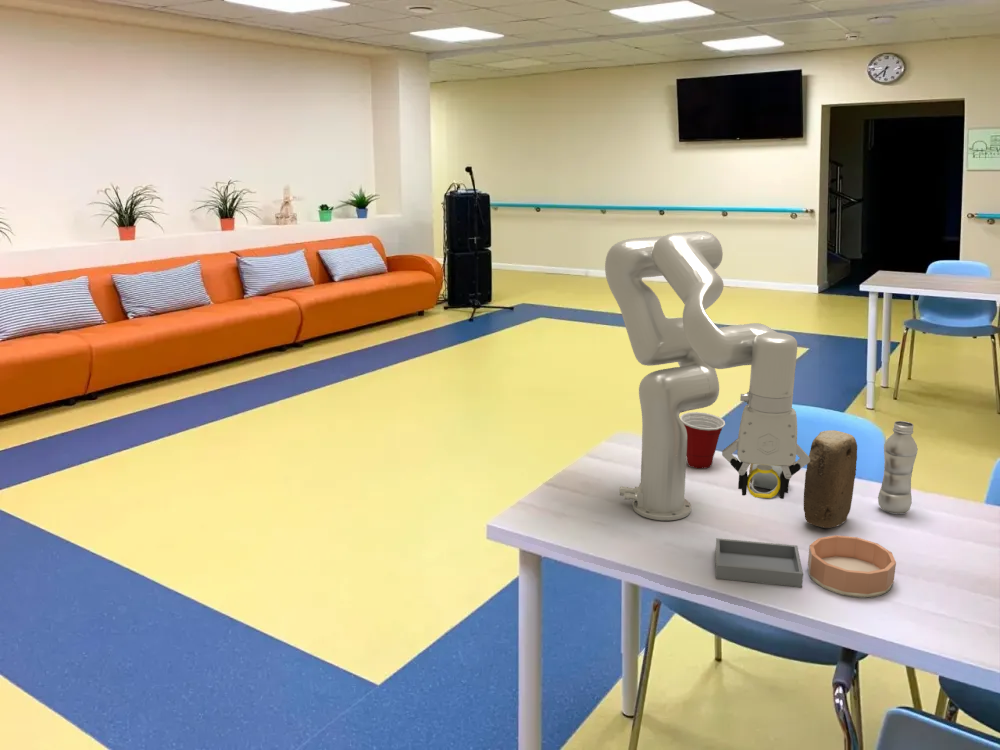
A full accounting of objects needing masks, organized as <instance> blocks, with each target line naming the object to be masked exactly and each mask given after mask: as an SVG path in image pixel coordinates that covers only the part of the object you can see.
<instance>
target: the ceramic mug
mask: <svg viewBox="0 0 1000 750" xmlns="http://www.w3.org/2000/svg"><path fill="white" fill-rule="evenodd" d="M757 466H758V464H750V465H749V472H748V473H749V474H750V472H751V471H752V470H754V469H756V468H757ZM769 466H771V465H769ZM771 467H772V469H773V470H774V471H776V472H777V474H778V476H779V478H780V474H781V472H782V468H781V466H771ZM749 474H748V475H749ZM790 481H791V478H790V479H789V482H790ZM749 484H750V485H751V490H752V491H753V492H754V493H760V494H770V493H771V492H773V491H774V490H775V488H776V487H777V485H778V479H777V477H776V475H774V474H772V473H760V472H758V473H756V474H754V475H753V477H752V478H751V479H750V483H749ZM755 487H756V488H761V489H766V490H770V491H767V492H761V491H758V490H757V489H755Z"/></svg>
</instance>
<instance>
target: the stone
mask: <svg viewBox="0 0 1000 750" xmlns="http://www.w3.org/2000/svg"><path fill="white" fill-rule="evenodd" d="M808 456H809V457H810V462H809V463H808V464H807V465H806V471H805V475H804V476H805V477H804V489H803V512H804V518H805V519H804V520H805V521H806V523H808V524H811V525H813V526H816V527H818V528H819V527H820V528H822V529H823V528H824V529H831V528H836V527H838V526H841V525H842V524H844V523H845V522H847V519H848V516H849V514H850V512H851V508H852V501H853V494H854V488H855V487H854V486H855V479H856V473H857V461H858V444H857V439H856V438H855V437H854V435H852V434H850V433H846V432H843V431H838V430H829V429H828V430H823V431H820V432H819V433H818V434H817V436H816V437H814V439H813V440H812V443H811V445H810V450H809V454H808Z"/></svg>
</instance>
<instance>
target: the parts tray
mask: <svg viewBox="0 0 1000 750" xmlns="http://www.w3.org/2000/svg"><path fill="white" fill-rule="evenodd" d="M803 571H804V570H803V565H802V560H801V556H800V552H799V546H798V545H795V544H783V543H775V542H774V543H773V542H761V541H752V540H751V541H750V540H738V539H728V538H719V537H718V538H715V579H717V580H726V581H727V580H728V581H737V582H738V581H739V582H748V583H754V584H755V583H756V584H766V585H767V584H768V585H776V586H777V585H778V586H785V587H786V586H787V587H788V586H790V587H797V588H803V581H804V580H803V579H804V572H803Z"/></svg>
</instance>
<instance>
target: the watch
mask: <svg viewBox="0 0 1000 750" xmlns="http://www.w3.org/2000/svg"><path fill="white" fill-rule="evenodd" d="M758 472H760V473H772V474H774V475H776V477H777V479H778V485H777V487H776V488H775V490H774V491H773V492H771V493H770V494H760V493H754V492H753V491H752V488H750V484H751V483H750V479H751V478H752V477H753V475H754V474H756V473H758ZM747 475H748V478H747V490H748V492H749V494H750V495H751V496H752V497H754V498H759V499H760V498H763V499H772V498H773V497H775V496H777V495H778V494H779V490H780V482H781V481H780V478H779V476H778V474H777V472H776V471H774V470H773V469H772V467H771V466H769V465H758V466H757V468H756V469H754V470H752V471H751V472H750V474H747Z"/></svg>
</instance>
